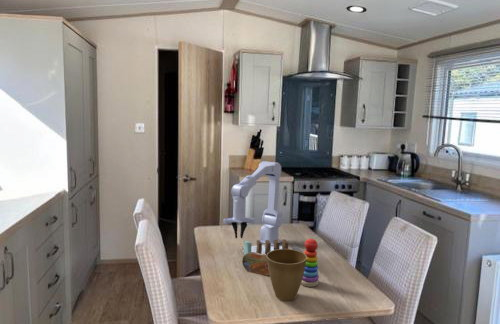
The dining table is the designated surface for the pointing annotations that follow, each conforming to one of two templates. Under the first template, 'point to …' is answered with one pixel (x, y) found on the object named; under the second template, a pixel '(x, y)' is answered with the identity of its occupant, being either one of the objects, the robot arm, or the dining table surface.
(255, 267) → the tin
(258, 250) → the domino
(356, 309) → the dining table surface
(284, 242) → the domino
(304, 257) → the plant pot
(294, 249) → the stop block
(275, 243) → the domino
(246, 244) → the domino
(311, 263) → the stacking toy
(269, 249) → the domino
